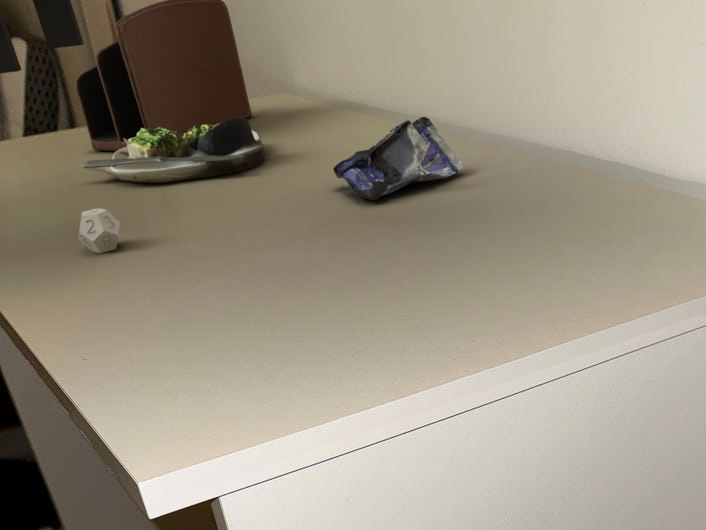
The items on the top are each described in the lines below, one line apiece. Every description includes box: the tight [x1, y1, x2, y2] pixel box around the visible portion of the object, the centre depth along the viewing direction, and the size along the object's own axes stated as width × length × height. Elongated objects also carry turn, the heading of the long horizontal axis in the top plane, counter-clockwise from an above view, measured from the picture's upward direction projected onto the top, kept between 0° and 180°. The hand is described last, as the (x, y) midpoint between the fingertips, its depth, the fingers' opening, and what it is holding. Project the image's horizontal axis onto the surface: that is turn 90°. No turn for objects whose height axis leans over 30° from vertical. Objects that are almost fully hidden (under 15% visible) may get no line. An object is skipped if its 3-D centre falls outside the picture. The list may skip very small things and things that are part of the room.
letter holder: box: [74, 0, 253, 152], centre depth 114 cm, size 10×20×14 cm, turn 155°
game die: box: [77, 207, 121, 254], centre depth 79 cm, size 4×4×3 cm
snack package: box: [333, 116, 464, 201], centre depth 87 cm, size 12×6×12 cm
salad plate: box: [81, 118, 264, 184], centre depth 101 cm, size 19×18×5 cm
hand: (36, 59), depth 70 cm, fingers open, 13 cm apart
